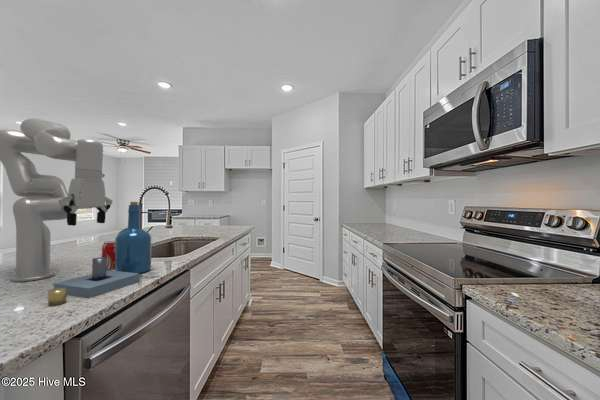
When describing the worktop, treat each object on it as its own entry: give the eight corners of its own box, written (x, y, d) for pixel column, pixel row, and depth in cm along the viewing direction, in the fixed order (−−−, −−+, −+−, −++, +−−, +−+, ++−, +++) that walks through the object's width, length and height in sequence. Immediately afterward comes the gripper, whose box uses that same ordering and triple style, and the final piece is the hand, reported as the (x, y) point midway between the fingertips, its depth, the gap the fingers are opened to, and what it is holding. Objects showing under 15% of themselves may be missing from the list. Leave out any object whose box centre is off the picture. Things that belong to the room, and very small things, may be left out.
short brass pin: (44, 305, 77) (44, 291, 77) (60, 300, 81) (60, 287, 81) (53, 307, 76) (53, 293, 76) (69, 302, 79) (69, 288, 80)
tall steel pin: (89, 288, 92) (89, 259, 92) (101, 284, 96) (101, 256, 96) (97, 289, 91) (97, 259, 91) (109, 285, 95) (109, 257, 95)
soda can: (110, 271, 115) (111, 243, 115) (97, 270, 116) (97, 242, 116) (124, 267, 122) (124, 240, 122) (111, 266, 123) (112, 240, 123)
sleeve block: (54, 292, 88) (54, 283, 88) (108, 277, 105) (108, 270, 105) (88, 298, 83) (88, 288, 83) (139, 281, 100) (139, 273, 100)
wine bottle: (158, 269, 118) (158, 201, 118) (129, 277, 105) (130, 201, 105) (136, 266, 123) (136, 201, 123) (106, 274, 110) (107, 201, 110)
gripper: (105, 177, 103) (103, 221, 103) (52, 172, 87) (50, 225, 87) (119, 177, 101) (118, 222, 101) (68, 173, 84) (66, 227, 85)
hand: (87, 224), depth 94 cm, fingers open, 9 cm apart
